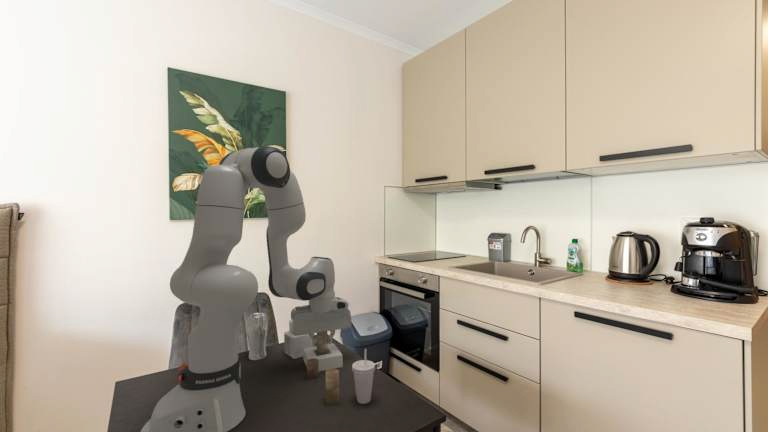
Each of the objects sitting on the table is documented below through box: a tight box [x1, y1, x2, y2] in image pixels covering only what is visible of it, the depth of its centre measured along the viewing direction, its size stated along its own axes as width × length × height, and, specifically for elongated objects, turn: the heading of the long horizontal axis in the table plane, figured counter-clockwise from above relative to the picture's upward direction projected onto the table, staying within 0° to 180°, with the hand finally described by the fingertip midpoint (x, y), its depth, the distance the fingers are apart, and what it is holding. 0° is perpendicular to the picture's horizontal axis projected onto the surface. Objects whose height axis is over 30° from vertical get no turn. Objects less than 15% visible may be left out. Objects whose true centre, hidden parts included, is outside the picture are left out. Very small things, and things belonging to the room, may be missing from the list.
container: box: [283, 318, 314, 360], centre depth 123 cm, size 8×8×13 cm
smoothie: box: [351, 348, 376, 405], centre depth 92 cm, size 6×6×14 cm
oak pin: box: [325, 368, 340, 406], centre depth 91 cm, size 4×4×8 cm
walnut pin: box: [306, 358, 320, 380], centre depth 105 cm, size 4×4×5 cm
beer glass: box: [246, 312, 269, 361], centre depth 120 cm, size 7×7×15 cm
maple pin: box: [316, 331, 328, 356], centre depth 114 cm, size 4×4×12 cm
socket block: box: [302, 342, 344, 373], centre depth 114 cm, size 11×11×4 cm
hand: (322, 344), depth 114 cm, fingers closed on maple pin, 4 cm apart
